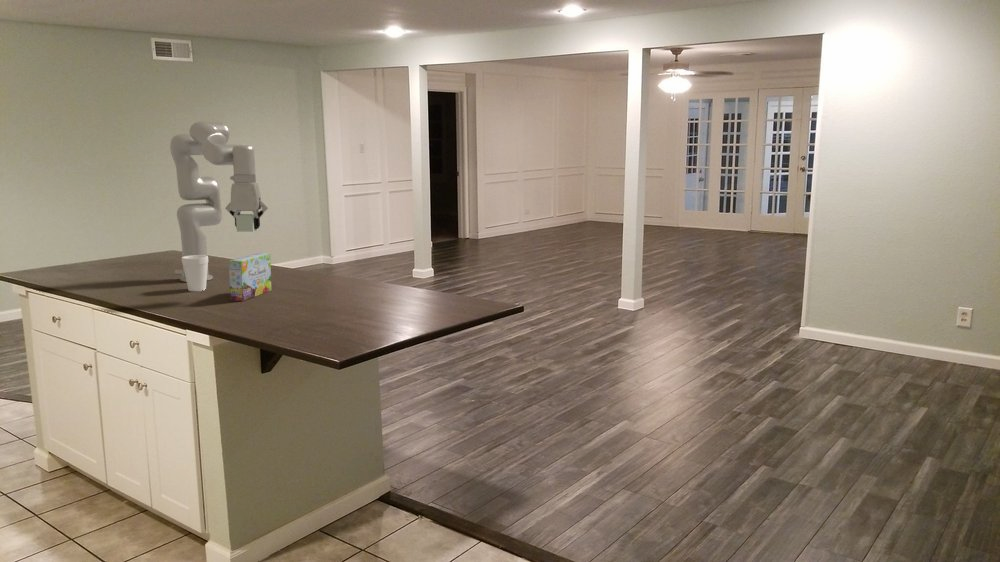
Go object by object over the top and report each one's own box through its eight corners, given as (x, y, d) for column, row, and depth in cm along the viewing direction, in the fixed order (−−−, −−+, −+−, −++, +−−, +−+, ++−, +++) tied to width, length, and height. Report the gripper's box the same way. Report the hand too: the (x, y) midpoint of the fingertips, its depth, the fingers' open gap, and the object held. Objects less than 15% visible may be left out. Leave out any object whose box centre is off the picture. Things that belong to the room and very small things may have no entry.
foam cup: (178, 290, 289) (176, 257, 286) (198, 286, 297) (196, 254, 294) (195, 293, 284) (193, 259, 282) (215, 288, 293) (213, 256, 290)
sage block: (236, 231, 273) (235, 215, 272) (242, 229, 279) (241, 213, 278) (253, 231, 273) (252, 215, 272) (258, 229, 279) (257, 213, 278)
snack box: (243, 301, 270) (241, 260, 267) (229, 301, 271) (227, 260, 268) (272, 290, 290) (270, 252, 287) (259, 290, 291) (257, 251, 289)
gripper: (217, 180, 269) (220, 229, 272) (265, 180, 269) (267, 230, 272) (225, 179, 276) (228, 227, 280) (271, 179, 276) (274, 227, 279)
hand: (247, 228), depth 276 cm, fingers closed on sage block, 6 cm apart
